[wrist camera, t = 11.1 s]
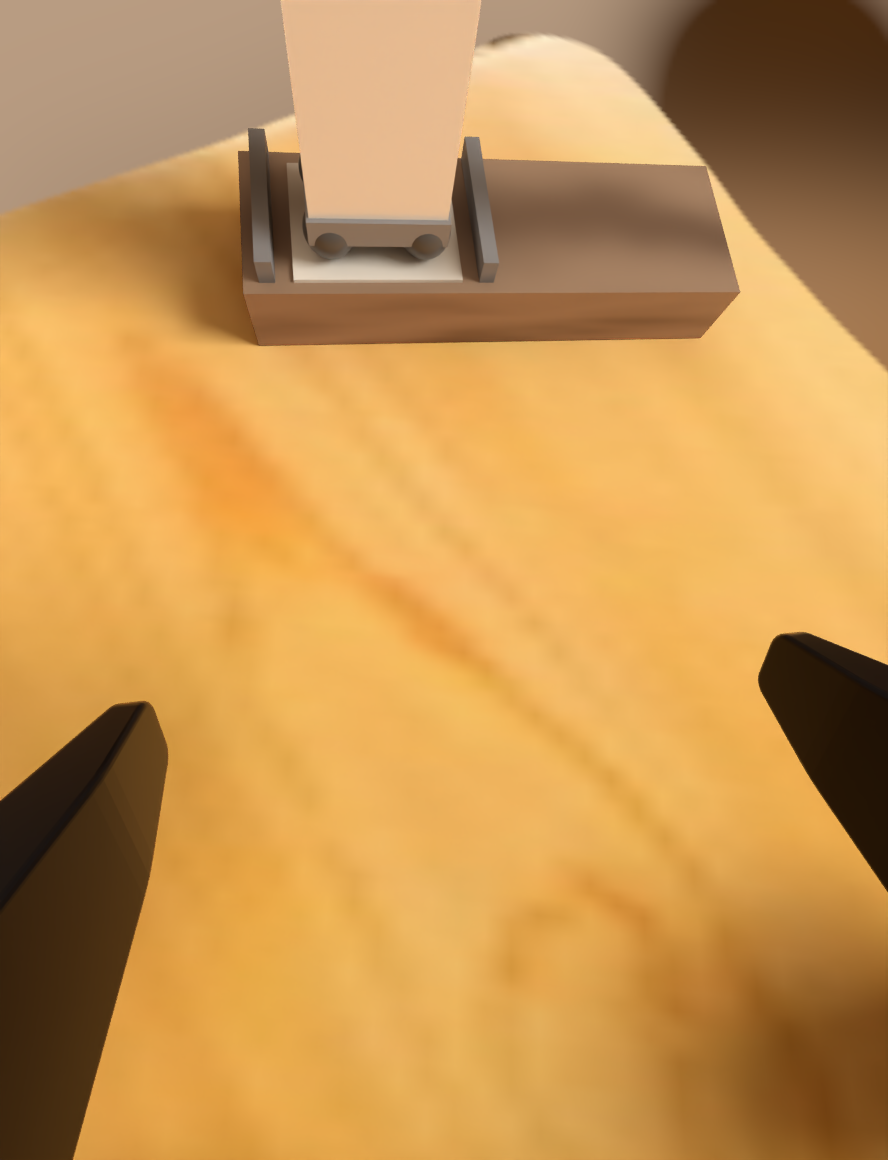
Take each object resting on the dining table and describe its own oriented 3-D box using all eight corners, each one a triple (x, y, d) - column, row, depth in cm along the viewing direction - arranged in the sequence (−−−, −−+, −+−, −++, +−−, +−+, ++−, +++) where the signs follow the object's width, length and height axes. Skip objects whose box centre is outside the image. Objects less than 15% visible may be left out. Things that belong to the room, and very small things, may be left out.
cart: (450, 271, 22) (534, -215, 11) (307, 271, 21) (228, -257, 10) (437, 175, 23) (501, -363, 12) (300, 171, 22) (222, -412, 11)
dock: (700, 337, 27) (755, 274, 23) (259, 345, 24) (237, 273, 20) (671, 222, 28) (719, 144, 24) (253, 215, 25) (232, 125, 21)
